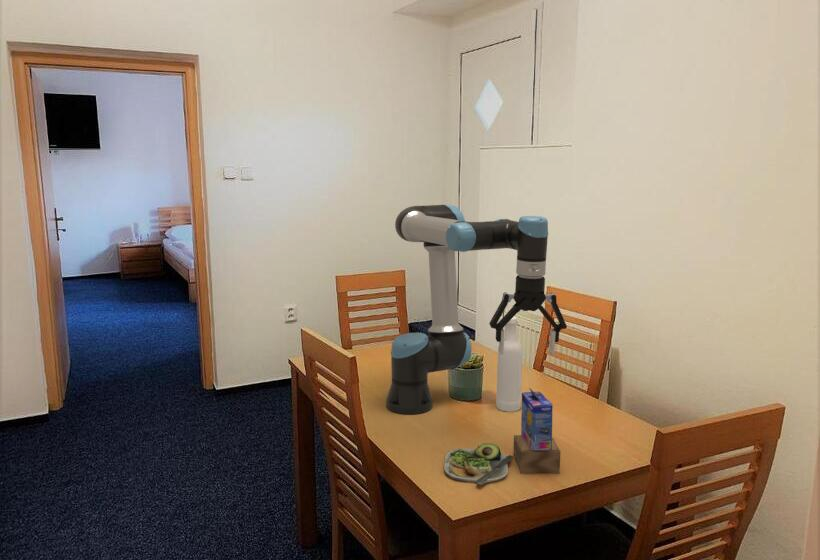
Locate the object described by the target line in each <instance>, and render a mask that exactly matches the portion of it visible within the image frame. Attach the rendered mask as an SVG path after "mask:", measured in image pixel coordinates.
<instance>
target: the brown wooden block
mask: <svg viewBox="0 0 820 560" xmlns="http://www.w3.org/2000/svg"><path fill="white" fill-rule="evenodd" d="M512 451H513V455H512V456H513V459H514V461H515V464H516V466H517V469H518V471H519V473H520V474H521V475H522V474H523V475H527V474H528V475H534V474H535V475H536V474H537V475H538V474H539V475H540V474H547V475H548V474H560V469H561V449H560V448H559V446H558V445H557V443H556V441H555V440H554V438H553V437H552V449H551V450H532V449H531V448H530V447H529V445H528V444H527V442H526V441H525V440H524V438H523V437H522V435H521V434H516V435H513V450H512Z"/></svg>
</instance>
